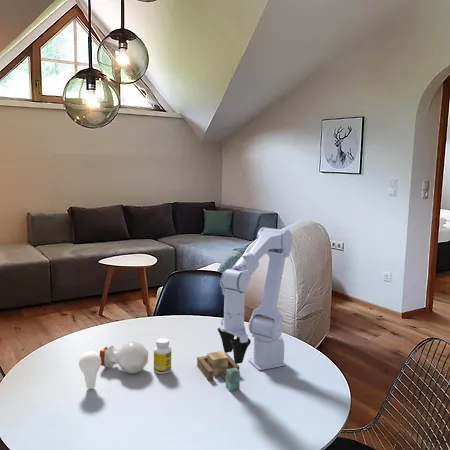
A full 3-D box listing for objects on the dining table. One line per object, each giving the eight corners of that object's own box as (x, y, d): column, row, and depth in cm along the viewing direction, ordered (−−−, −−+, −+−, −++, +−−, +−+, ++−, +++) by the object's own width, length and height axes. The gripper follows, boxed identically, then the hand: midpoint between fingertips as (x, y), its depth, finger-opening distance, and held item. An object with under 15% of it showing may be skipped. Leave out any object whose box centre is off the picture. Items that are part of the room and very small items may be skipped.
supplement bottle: (168, 375, 139) (168, 344, 137) (151, 373, 140) (151, 343, 138) (173, 367, 144) (173, 337, 143) (157, 365, 145) (157, 336, 144)
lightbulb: (106, 385, 132) (105, 349, 130) (93, 396, 126) (92, 358, 125) (88, 382, 134) (87, 346, 132) (75, 392, 128) (73, 355, 126)
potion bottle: (148, 380, 138) (104, 378, 143) (156, 351, 145) (115, 351, 150) (136, 364, 132) (91, 363, 137) (146, 335, 139) (103, 335, 144)
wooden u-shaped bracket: (226, 361, 149) (226, 352, 149) (239, 375, 139) (239, 366, 139) (197, 366, 145) (197, 357, 145) (208, 381, 136) (208, 371, 135)
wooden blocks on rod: (221, 365, 146) (222, 349, 145) (242, 389, 131) (243, 371, 130) (207, 368, 144) (207, 351, 143) (226, 392, 129) (226, 374, 128)
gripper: (211, 305, 133) (211, 349, 135) (231, 321, 120) (230, 370, 122) (233, 302, 136) (232, 345, 138) (255, 318, 123) (253, 366, 125)
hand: (233, 357), depth 130 cm, fingers open, 7 cm apart
